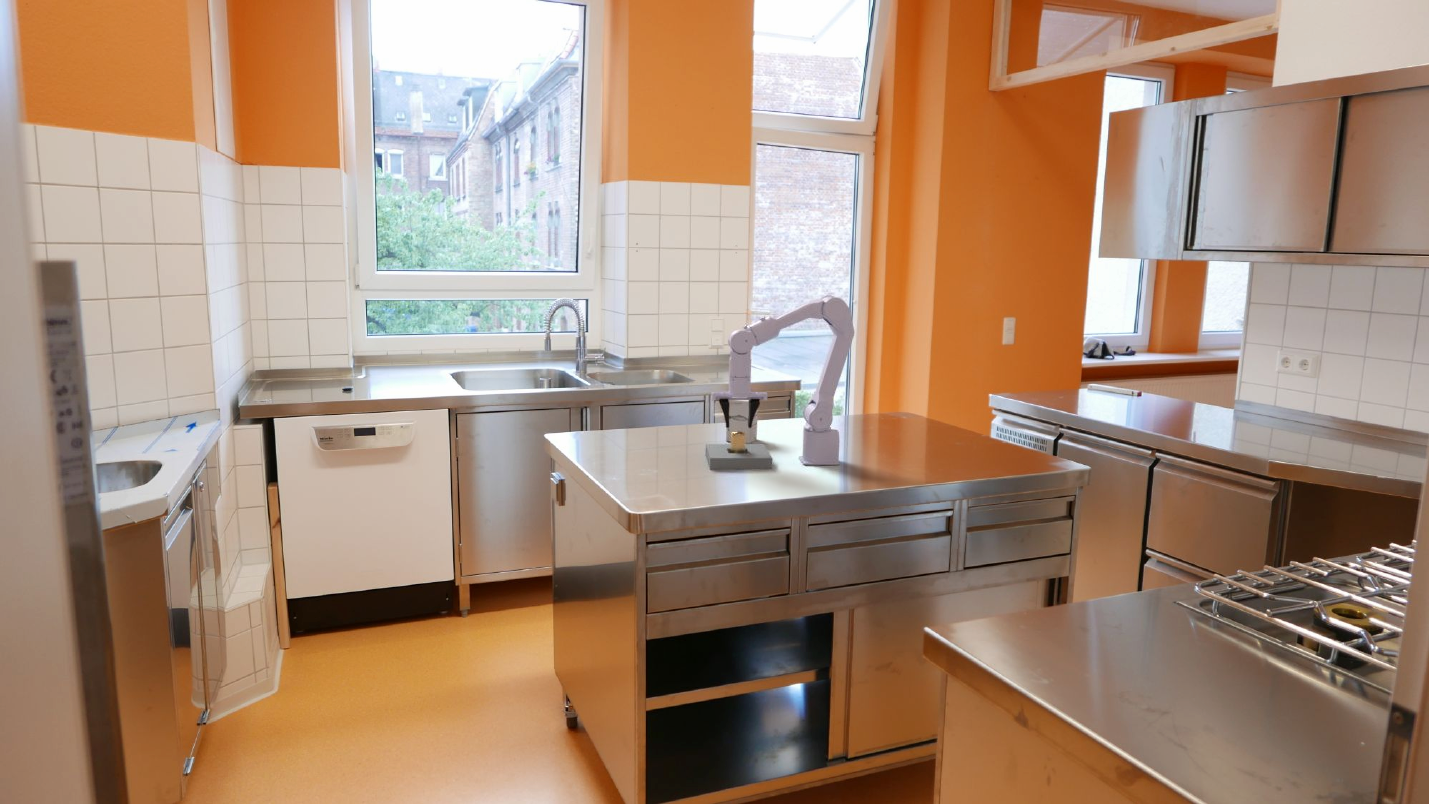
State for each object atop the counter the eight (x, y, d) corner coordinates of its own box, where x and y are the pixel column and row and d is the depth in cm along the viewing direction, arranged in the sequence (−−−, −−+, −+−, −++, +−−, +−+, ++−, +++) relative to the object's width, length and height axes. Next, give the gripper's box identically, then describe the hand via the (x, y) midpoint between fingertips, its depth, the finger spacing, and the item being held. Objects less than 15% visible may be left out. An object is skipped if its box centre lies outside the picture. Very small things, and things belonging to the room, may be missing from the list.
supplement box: (725, 441, 264) (726, 399, 262) (734, 436, 271) (735, 395, 269) (749, 444, 262) (750, 401, 259) (757, 439, 268) (758, 397, 266)
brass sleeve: (744, 460, 243) (745, 430, 241) (745, 463, 239) (746, 433, 237) (729, 459, 243) (730, 430, 241) (730, 463, 239) (731, 433, 237)
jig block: (763, 454, 249) (763, 444, 249) (772, 469, 233) (772, 458, 233) (705, 454, 248) (705, 444, 247) (710, 469, 232) (710, 458, 231)
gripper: (765, 374, 241) (763, 424, 243) (710, 373, 240) (709, 424, 242) (769, 378, 234) (767, 429, 237) (713, 377, 233) (712, 429, 235)
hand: (738, 427), depth 239 cm, fingers open, 5 cm apart
